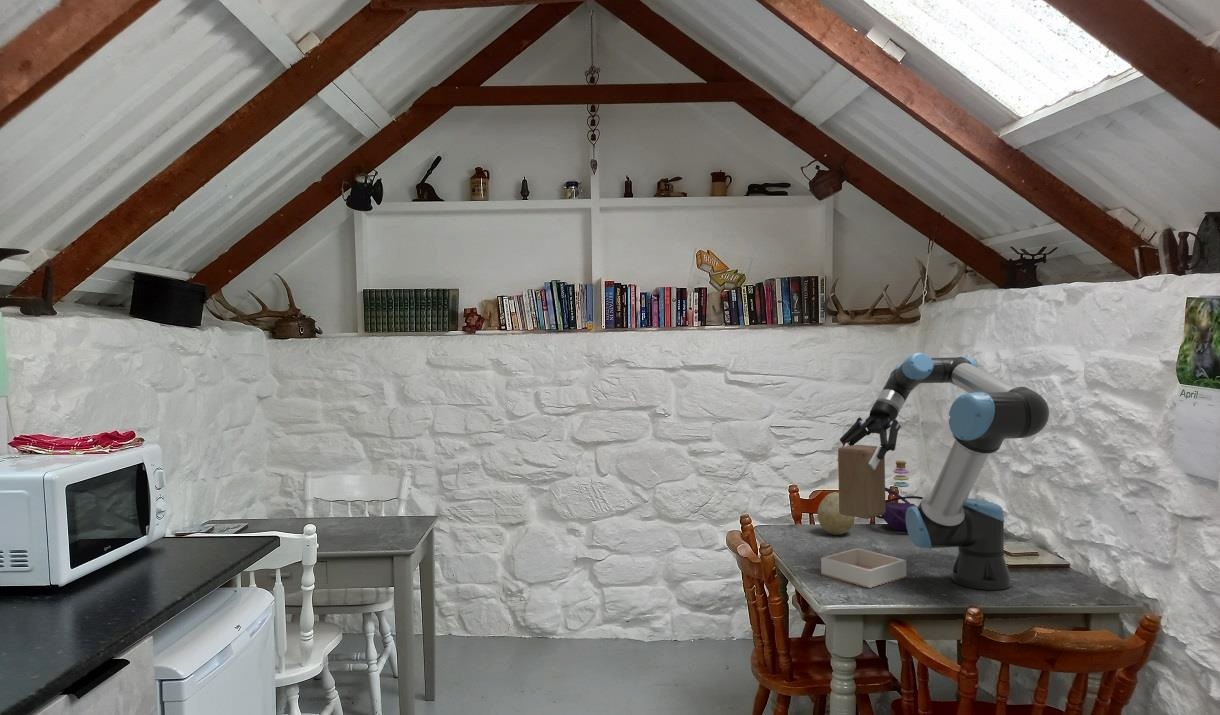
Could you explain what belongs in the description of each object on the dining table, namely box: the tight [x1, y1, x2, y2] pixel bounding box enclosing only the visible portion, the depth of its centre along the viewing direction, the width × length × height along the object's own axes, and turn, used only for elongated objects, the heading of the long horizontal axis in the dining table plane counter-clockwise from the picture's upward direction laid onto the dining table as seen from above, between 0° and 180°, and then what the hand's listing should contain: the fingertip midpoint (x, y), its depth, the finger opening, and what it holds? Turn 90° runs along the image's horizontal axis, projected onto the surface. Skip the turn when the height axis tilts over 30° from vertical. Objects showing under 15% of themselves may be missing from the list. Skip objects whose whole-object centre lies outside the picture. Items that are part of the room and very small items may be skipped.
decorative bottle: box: [875, 459, 924, 532], centre depth 280 cm, size 22×21×25 cm
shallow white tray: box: [820, 547, 907, 589], centre depth 226 cm, size 17×17×5 cm
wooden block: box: [837, 444, 886, 520], centre depth 226 cm, size 10×10×20 cm
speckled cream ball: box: [817, 491, 856, 536], centre depth 275 cm, size 13×13×15 cm
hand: (855, 464), depth 224 cm, fingers closed on wooden block, 10 cm apart
